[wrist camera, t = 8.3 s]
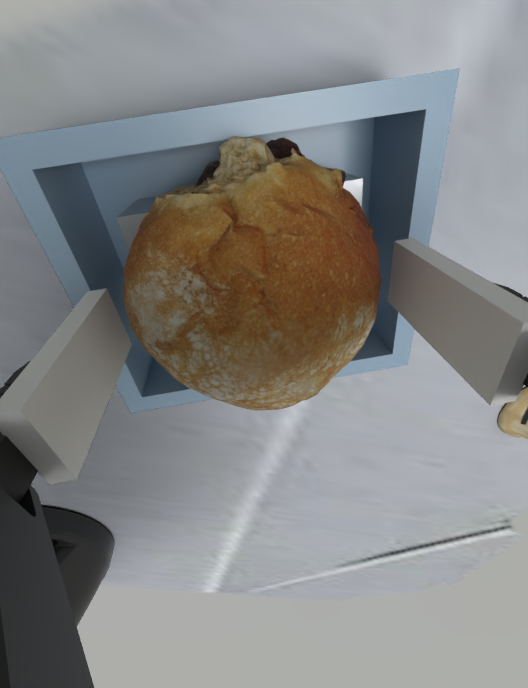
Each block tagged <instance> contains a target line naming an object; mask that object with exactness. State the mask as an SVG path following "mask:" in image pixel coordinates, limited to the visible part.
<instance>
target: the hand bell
mask: <svg viewBox="0 0 528 688" xmlns="http://www.w3.org/2000/svg"><path fill="white" fill-rule="evenodd" d="M527 407H528V387H526V388H525V389H523V390H521V392H520V394H519V396H518V398H517V400H516V401H513V402H507V404H506V405H505V406H504V408H503V409H502V411H501V413H500V415H499V418H498V426H499V428H500V429H501V430H502V431H503V432H504V433H506V434H509V435H511V436H515V437H523V438H526V439H528V421H527V423H526V425H524V424H520V423H521V419H522V417H523V415H524V413H525V411H526V409H527Z"/></svg>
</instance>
